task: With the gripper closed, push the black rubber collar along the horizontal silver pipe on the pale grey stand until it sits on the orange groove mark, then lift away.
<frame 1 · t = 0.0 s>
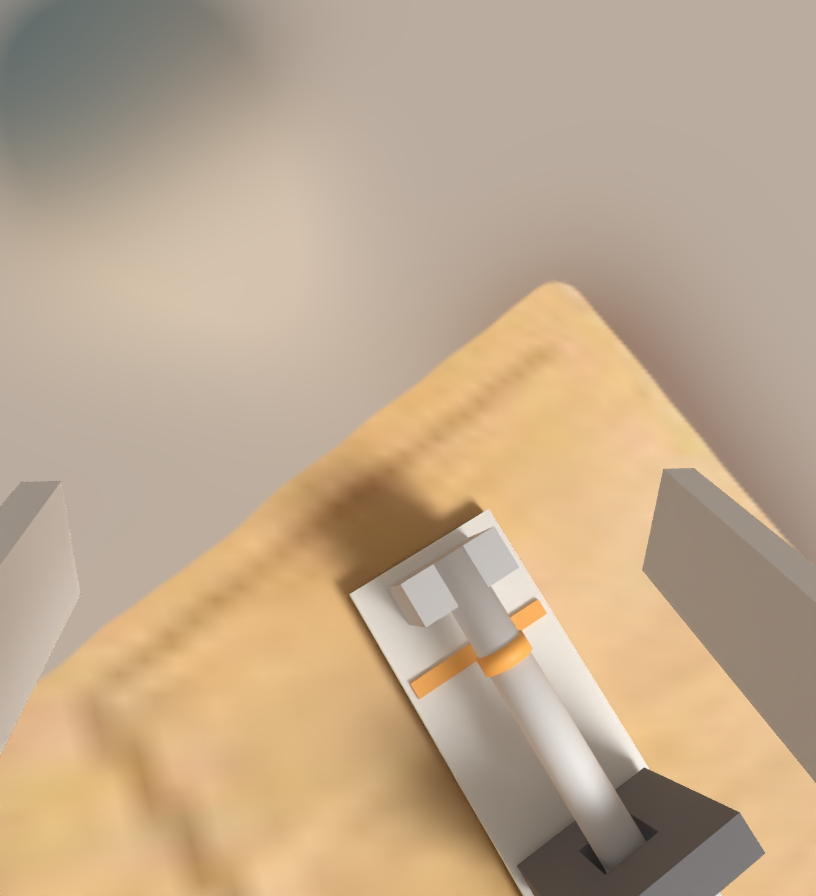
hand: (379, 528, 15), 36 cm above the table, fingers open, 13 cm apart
pipe stand: (527, 733, 49), on the table
collar: (628, 860, 41), point 8 cm above the table, slide at -7.0 cm
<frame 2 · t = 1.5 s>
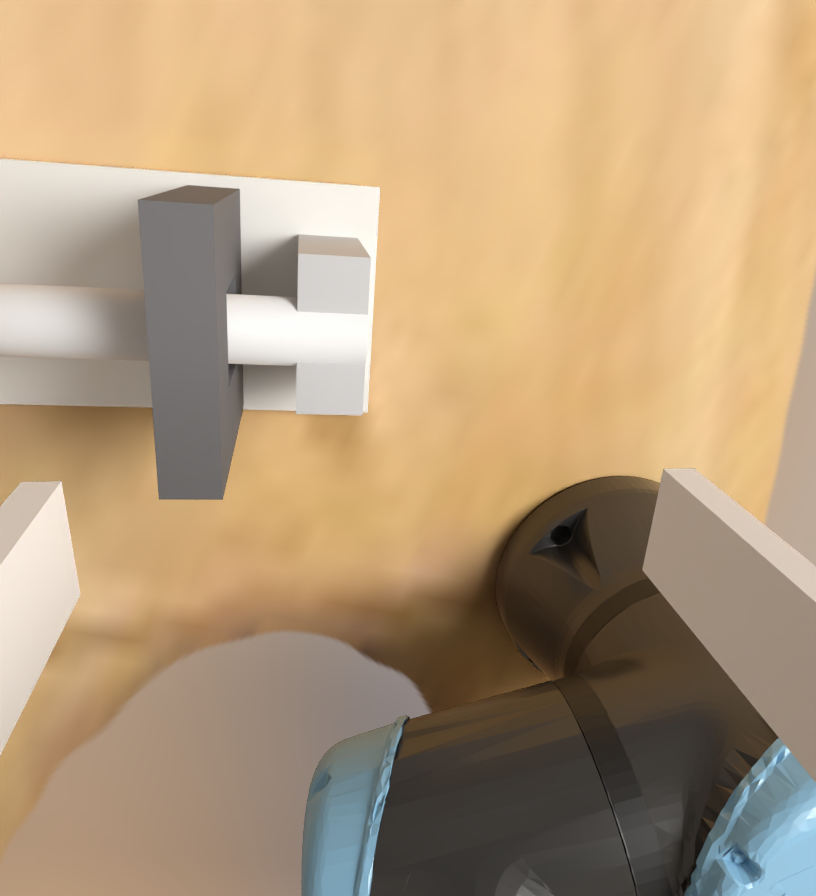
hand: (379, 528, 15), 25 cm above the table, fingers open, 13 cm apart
pipe stand: (81, 288, 36), on the table
collar: (203, 328, 30), point 8 cm above the table, slide at -7.0 cm
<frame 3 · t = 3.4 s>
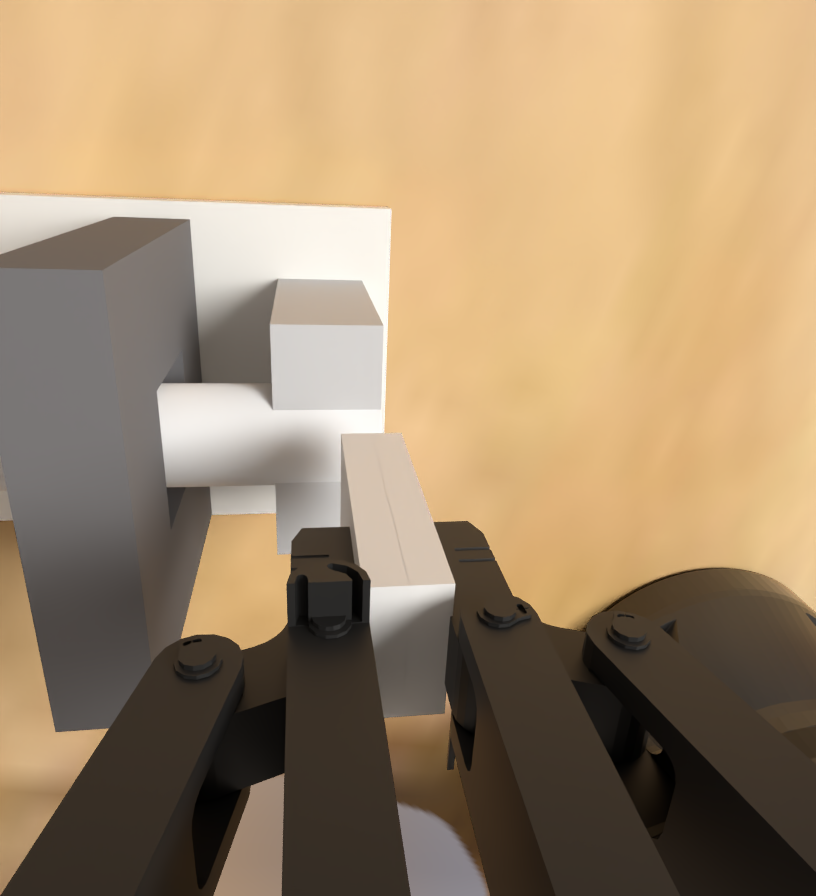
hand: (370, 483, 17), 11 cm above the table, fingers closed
collar: (133, 435, 20), point 7 cm above the table, slide at -7.0 cm
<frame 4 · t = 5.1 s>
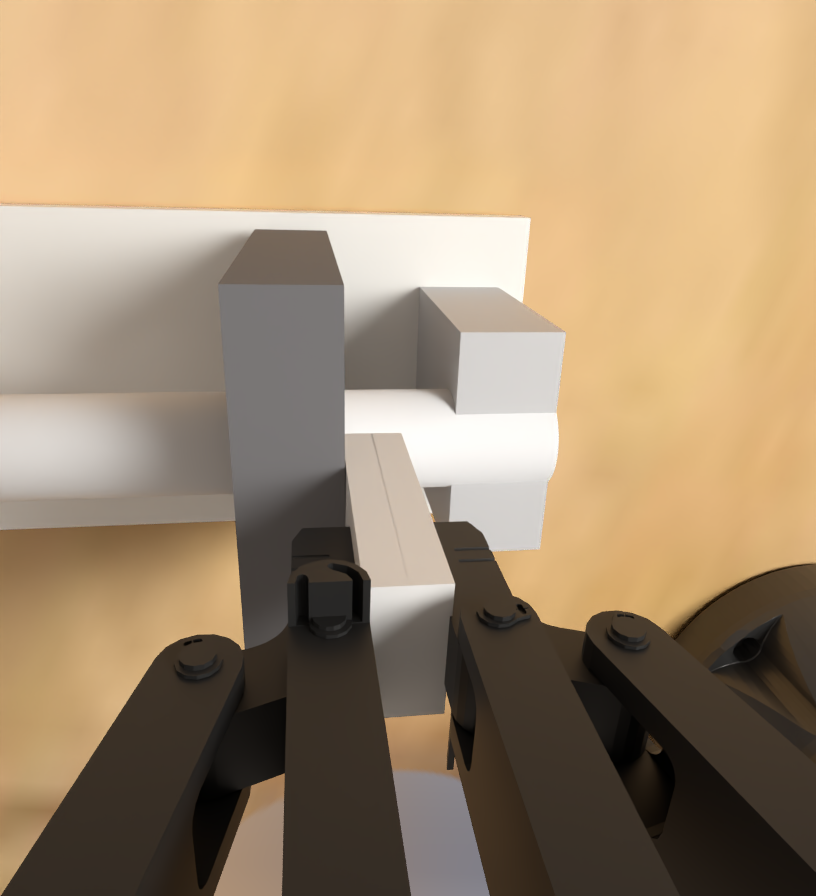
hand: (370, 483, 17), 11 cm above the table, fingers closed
pipe stand: (127, 371, 26), on the table
collar: (294, 441, 20), point 7 cm above the table, slide at -6.4 cm, touching gripper
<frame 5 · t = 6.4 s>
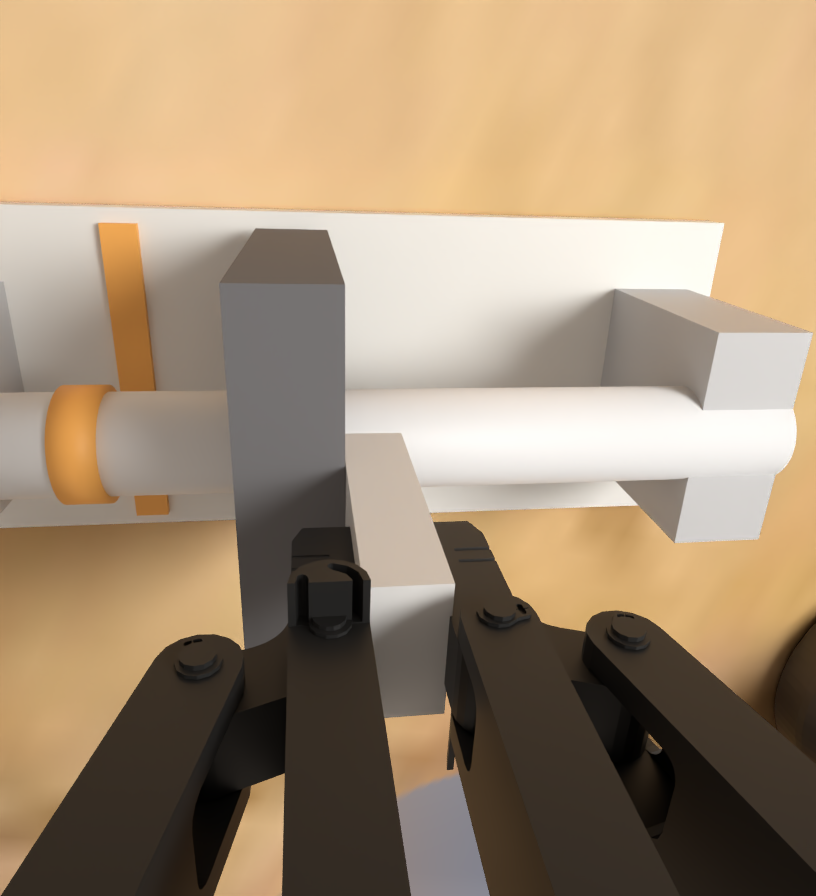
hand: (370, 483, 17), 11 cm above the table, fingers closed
pipe stand: (328, 369, 27), on the table
collar: (294, 440, 20), point 8 cm above the table, slide at 1.2 cm, touching gripper
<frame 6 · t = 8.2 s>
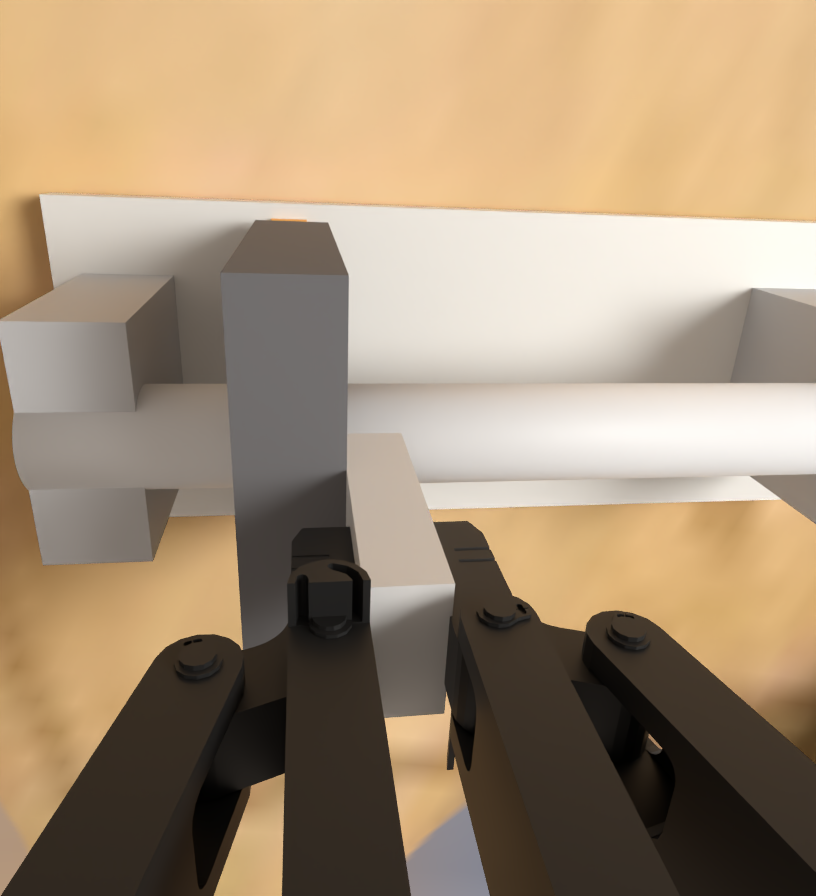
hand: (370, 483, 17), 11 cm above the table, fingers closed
pipe stand: (467, 364, 28), on the table
collar: (293, 434, 20), point 7 cm above the table, slide at 6.9 cm, touching gripper
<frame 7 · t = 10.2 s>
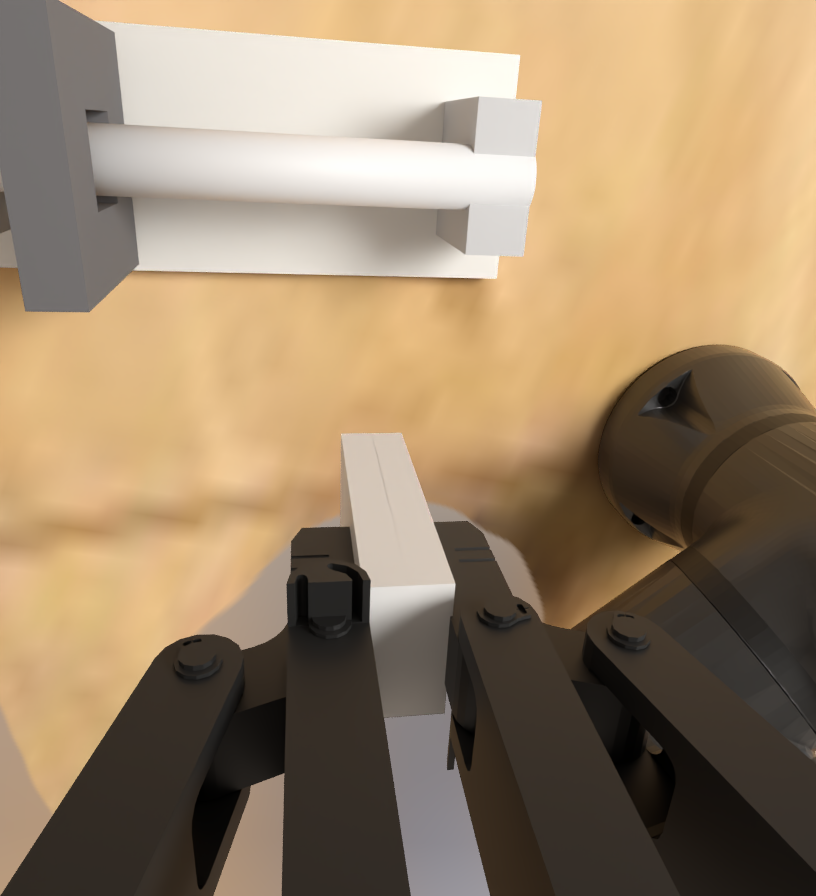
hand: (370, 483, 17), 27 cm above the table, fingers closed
pipe stand: (242, 159, 38), on the table
collar: (74, 158, 30), point 7 cm above the table, slide at 6.9 cm
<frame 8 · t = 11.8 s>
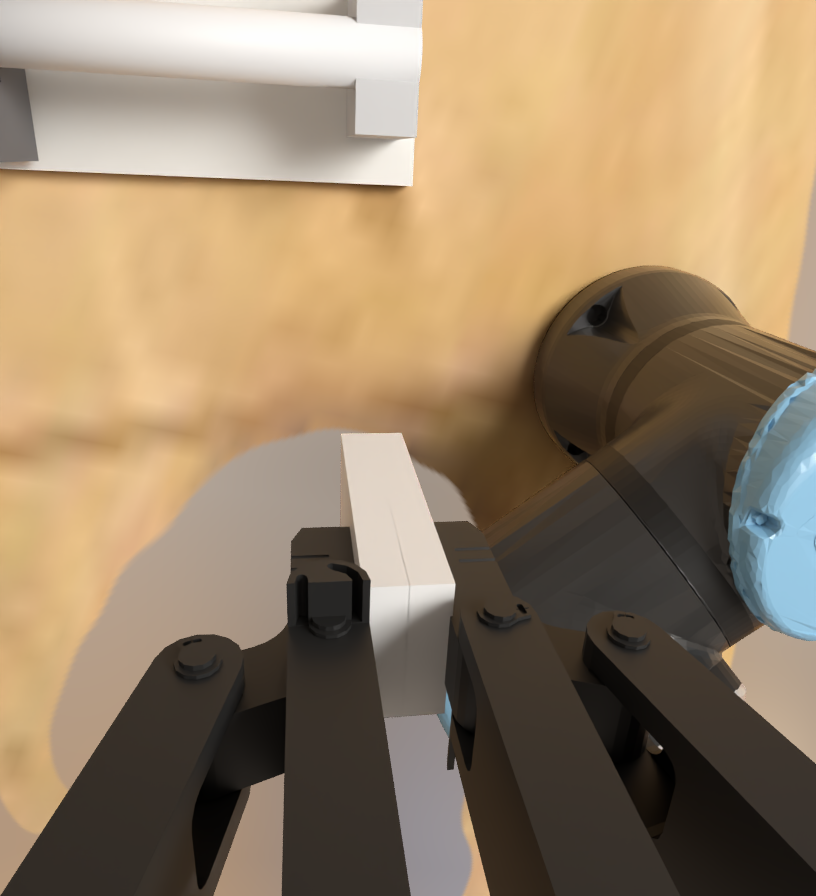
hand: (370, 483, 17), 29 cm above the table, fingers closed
pipe stand: (145, 57, 38), on the table
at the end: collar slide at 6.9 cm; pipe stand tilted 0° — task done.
